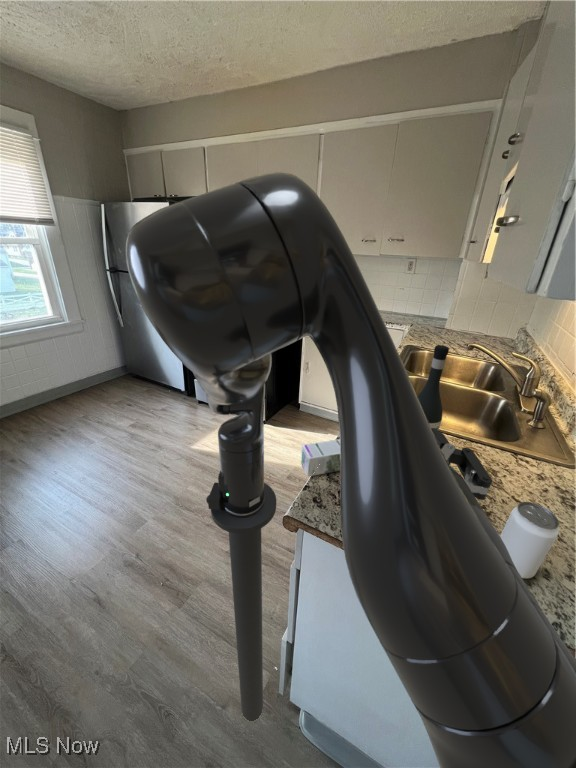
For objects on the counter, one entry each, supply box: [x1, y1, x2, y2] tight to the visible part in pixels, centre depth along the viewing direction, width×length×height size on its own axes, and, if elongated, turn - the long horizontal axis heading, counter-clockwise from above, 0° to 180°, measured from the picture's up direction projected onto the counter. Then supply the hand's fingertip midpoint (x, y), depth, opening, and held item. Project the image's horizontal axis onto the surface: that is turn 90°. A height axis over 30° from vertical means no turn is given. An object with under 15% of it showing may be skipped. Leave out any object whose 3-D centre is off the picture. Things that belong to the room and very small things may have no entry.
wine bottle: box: [417, 344, 450, 432], centre depth 80 cm, size 8×8×30 cm
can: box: [499, 501, 560, 579], centre depth 54 cm, size 6×6×12 cm
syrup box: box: [300, 438, 340, 477], centre depth 78 cm, size 6×6×14 cm
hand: (399, 431), depth 42 cm, fingers open, 8 cm apart
